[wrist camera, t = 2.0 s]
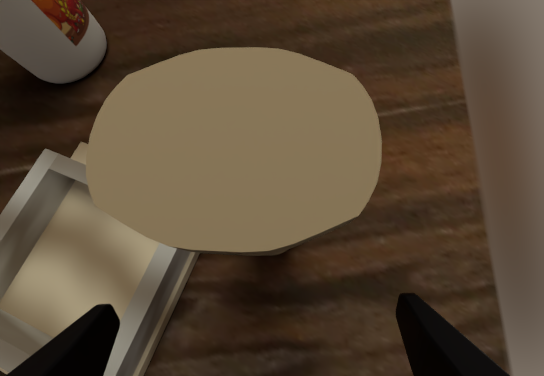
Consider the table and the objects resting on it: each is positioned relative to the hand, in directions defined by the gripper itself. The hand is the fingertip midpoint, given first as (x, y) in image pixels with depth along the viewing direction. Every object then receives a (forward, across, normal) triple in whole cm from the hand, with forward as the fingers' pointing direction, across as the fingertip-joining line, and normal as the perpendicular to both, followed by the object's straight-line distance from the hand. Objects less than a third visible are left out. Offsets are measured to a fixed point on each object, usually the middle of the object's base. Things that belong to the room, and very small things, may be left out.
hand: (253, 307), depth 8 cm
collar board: (+9, +13, +6) cm, 17 cm away
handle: (+11, 0, +5) cm, 12 cm away
